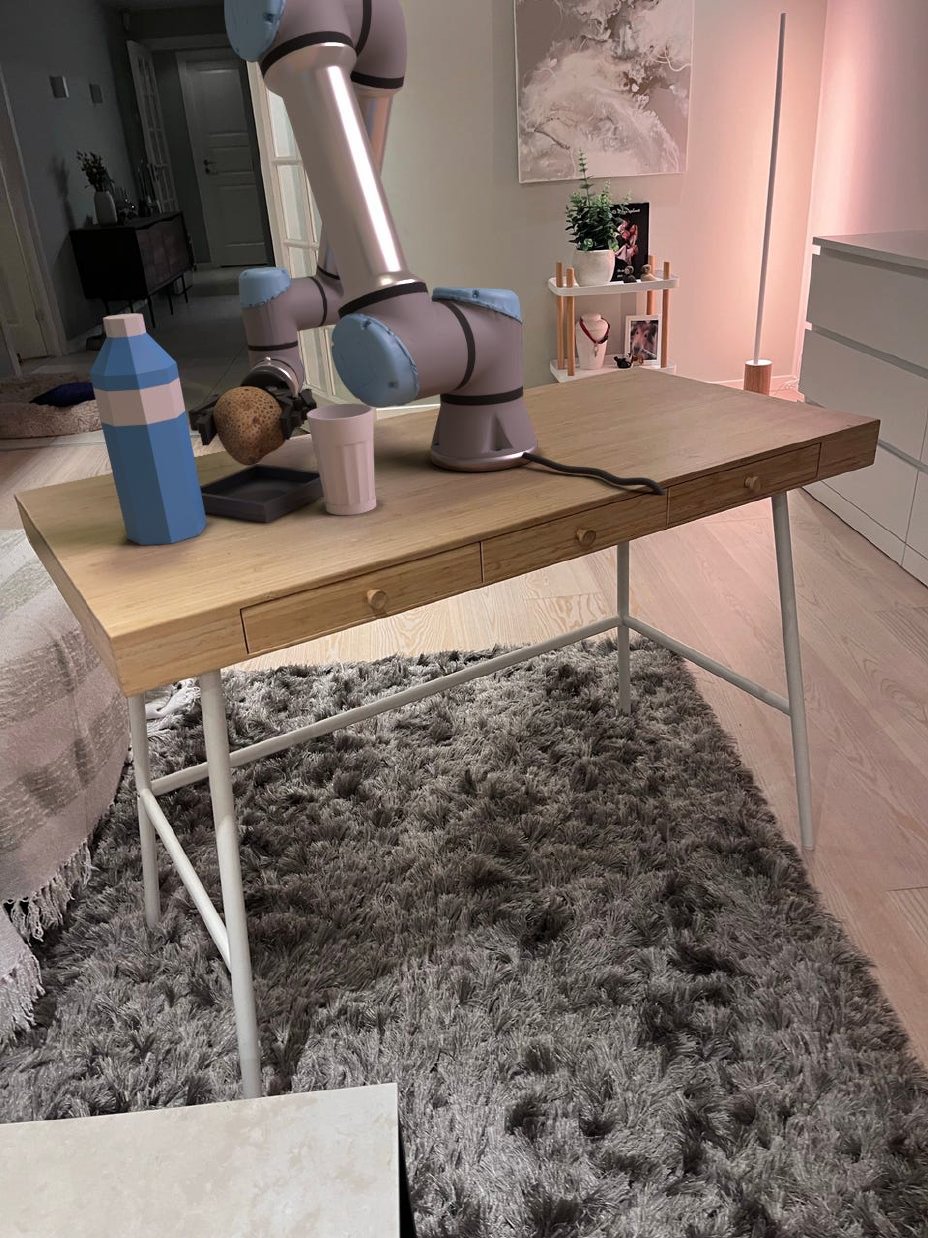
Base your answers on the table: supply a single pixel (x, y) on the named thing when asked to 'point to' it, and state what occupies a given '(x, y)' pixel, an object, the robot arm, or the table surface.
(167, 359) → the water bottle
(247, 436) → the natural sponge
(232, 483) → the soap dish
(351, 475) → the cup
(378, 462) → the table surface
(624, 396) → the table surface
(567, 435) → the table surface
